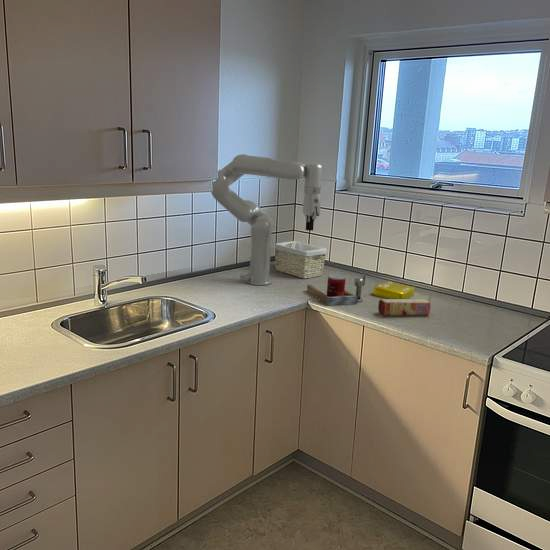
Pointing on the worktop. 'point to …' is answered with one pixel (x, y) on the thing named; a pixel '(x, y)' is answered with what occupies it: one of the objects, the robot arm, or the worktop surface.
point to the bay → (331, 301)
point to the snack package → (403, 307)
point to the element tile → (393, 290)
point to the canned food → (335, 285)
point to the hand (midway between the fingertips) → (309, 230)
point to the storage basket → (300, 259)
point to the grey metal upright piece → (359, 287)
